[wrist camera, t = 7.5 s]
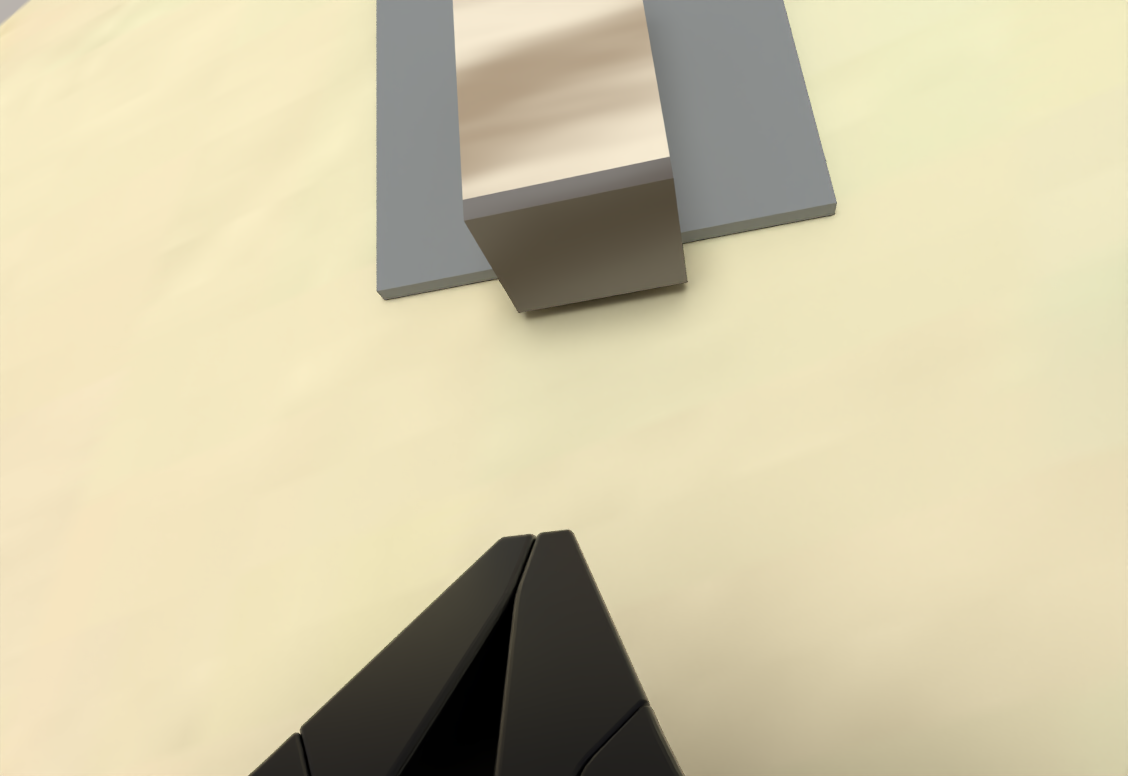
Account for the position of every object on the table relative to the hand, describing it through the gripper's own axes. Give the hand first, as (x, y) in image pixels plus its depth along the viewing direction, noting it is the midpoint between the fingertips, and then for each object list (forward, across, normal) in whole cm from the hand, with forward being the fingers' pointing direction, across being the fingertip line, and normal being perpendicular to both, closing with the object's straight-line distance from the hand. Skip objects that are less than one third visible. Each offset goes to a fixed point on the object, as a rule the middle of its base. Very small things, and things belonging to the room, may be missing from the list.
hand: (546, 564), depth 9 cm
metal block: (+13, 0, 0) cm, 13 cm away
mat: (+21, 0, -4) cm, 21 cm away
